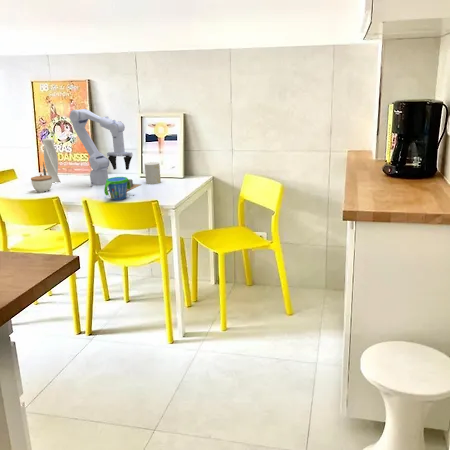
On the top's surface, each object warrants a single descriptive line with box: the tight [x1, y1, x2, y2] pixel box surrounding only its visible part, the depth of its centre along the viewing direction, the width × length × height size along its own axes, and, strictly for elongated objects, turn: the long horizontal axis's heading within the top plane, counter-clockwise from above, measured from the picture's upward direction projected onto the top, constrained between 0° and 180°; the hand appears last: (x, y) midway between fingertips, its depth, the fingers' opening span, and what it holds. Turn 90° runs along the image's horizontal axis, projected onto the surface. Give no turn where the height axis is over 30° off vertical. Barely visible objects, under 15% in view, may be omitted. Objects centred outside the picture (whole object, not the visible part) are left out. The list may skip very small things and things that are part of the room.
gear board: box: [107, 183, 143, 192], centre depth 264 cm, size 12×18×4 cm, turn 163°
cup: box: [144, 161, 162, 185], centre depth 273 cm, size 8×8×12 cm
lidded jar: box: [30, 173, 53, 193], centre depth 269 cm, size 11×11×9 cm
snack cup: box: [104, 176, 131, 201], centre depth 245 cm, size 16×10×10 cm
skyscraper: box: [41, 134, 61, 184], centre depth 287 cm, size 8×8×28 cm
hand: (121, 169), depth 269 cm, fingers open, 7 cm apart
